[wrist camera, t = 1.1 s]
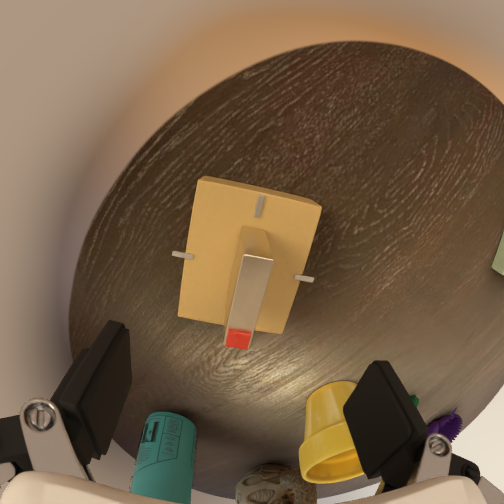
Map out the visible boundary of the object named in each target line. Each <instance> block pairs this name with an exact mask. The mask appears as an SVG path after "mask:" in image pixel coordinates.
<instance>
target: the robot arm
mask: <svg viewBox="0 0 504 504" xmlns="http://www.w3.org/2000/svg"><path fill="white" fill-rule="evenodd" d="M131 384H132V372H131V357H130V336H129V329H126V328H125V325H124V324H123V323H119V322H116V321H112V320H109V321H108V322H107V323H106V325H105V326H104V328H103V329H102V331H101V332H100V334H99V335H98V337H97V338H96V340H95V341H94V343H93V344H92V346H91V347H90V349H86V348H84V349H82V350H81V352H80V353H79V355H78V356H77V358H76V359H75V361H74V362H73V364H72V365H71V367H70V368H69V370H68V372H67V373H66V375H65V376H64V378H63V380H62V381H61V383H60V385H59V386H58V388H57V390H56V391H55V393H54V394H53V396H52V398H51V399H50V401H49V400H48V399H44V398H33V399H30V400H28V401H27V402H25V403H24V404H23V406H22V407H21V410H20V415H16V416H12V417H7V418H1V419H0V485H2V484H3V483H5V482H7V481H8V482H10V483H9V484H8V486H7V487H6V489H5V491H4V492H3V494H2V497H1V499H0V504H181V503H175V502H170V501H164V500H159V499H155V498H150V497H146V496H142V495H138V494H134V493H130V492H127V491H123V490H120V489H116V488H112V487H109V486H106V485H102V484H99V483H96V481H95V480H94V477H93V476H92V473H91V472H90V469H89V467H88V464H90V461H91V458H95V459H97V460H100V457H101V454H103V455H106V453H107V451H108V448H109V445H110V442H111V439H112V436H113V434H114V431H115V428H116V425H117V422H118V419H119V417H120V414H121V411H122V408H123V406H124V403H125V400H126V398H127V395H128V393H129V390H130V387H131ZM343 414H344V417H345V420H346V423H347V426H348V428H349V431H350V434H351V437H352V440H353V443H354V446H355V449H356V452H357V455H358V458H359V461H360V464H361V467H362V470H363V472H364V473H365V474H366V475H367V478H368V479H372V478H377V477H379V476H380V475H381V477H382V480H381V483H380V485H379V487H378V489H377V491H376V494H375V495H374V496H370V497H367V498H362V499H358V500H352V501H348V502H342V503H337V504H504V494H503V493H502V492H501V491H500V490H499V489H498V488H496V487H495V486H494V485H493V484H492V483H490V482H489V481H488V480H487V479H485V478H484V477H483V476H481V477H480V471H479V468H478V466H477V465H476V464H475V463H473V462H471V461H469V460H466V459H464V458H462V457H460V456H457V455H455V454H453V453H452V446H451V443H450V441H449V440H448V438H446V437H445V436H444V435H442V434H439V433H432V434H430V435H429V436H428V437H426V434H427V433H428V432H429V430H428V428H427V426H426V424H425V422H424V421H423V419H422V417H421V415H420V413H419V412H418V410H417V408H416V406H415V405H414V403H413V401H412V400H411V398H410V396H409V394H408V393H407V391H406V389H405V388H404V386H403V384H402V383H401V381H400V379H399V378H398V376H397V374H396V373H395V371H394V369H393V368H392V366H391V365H390V363H389V362H388V361H379V360H376V361H374V362H373V363H372V364H370V365H369V366H368V368H367V369H366V371H365V373H364V374H363V376H362V378H361V379H360V381H359V383H358V384H357V386H356V387H355V389H354V390H353V392H352V393H351V395H350V396H349V398H348V399H347V401H346V402H345V404H344V406H343ZM0 488H1V486H0Z"/></svg>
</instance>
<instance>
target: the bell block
mask: <svg viewBox="0 0 504 504" xmlns="http://www.w3.org/2000/svg"><path fill="white" fill-rule="evenodd" d="M491 268H492V269H494V270H495V271H497V272H498V273H500V274H501V275H504V231H503V235H502V238H501V241H500V244H499V247H498V250H497V253H496V256H495V258H494V261H493V264H492V266H491Z"/></svg>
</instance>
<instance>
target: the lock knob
mask: <svg viewBox="0 0 504 504" xmlns="http://www.w3.org/2000/svg"><path fill="white" fill-rule="evenodd" d="M273 264H274V258H273V254H272V251H271V248H270V244H269V241H268V238H267V235H266V231H265V230H262V229H258V228H253V227H248V226H242V229H241V233H240V238H239V242H238V247H237V251H236V256H235V260H234V265H233V269H232V274H231V279H230V283H229V288H228V293H227V297H226V306H225V318H224V331H223V345H224V346H227V347H234V348H240V349H249V347H250V344H251V341H252V337H253V334H254V331H255V327H256V324H257V320H258V317H259V313H260V310H261V306H262V303H263V299H264V296H265V292H266V289H267V285H268V282H269V278H270V275H271V271H272V267H273Z"/></svg>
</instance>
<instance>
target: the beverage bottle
mask: <svg viewBox="0 0 504 504" xmlns="http://www.w3.org/2000/svg"><path fill="white" fill-rule="evenodd" d="M144 426H145V428H144V427H143V428H144V432H142V434H141V438H142V440H141V439H140V441H141V444H140V442H139V444H140V448H139V446H138V448H139V450H138V451H139V452H138V451H137V452H138V457H137V456H136V458H137V459H135V460H136V464H135V470H134V475H133V479H132V484H131V491H130V493H134V494H138V495H142V496H146V497H150V498H155V499H159V500H164V501H170V502H175V503H181V504H190V501H191V488H192V485H193V484H192V480H193V472H194V471H193V469H194V468H195V467H194V466H195V465H194V462H195V461H196V460H195V459H194V457H195V449H197V447H196V441H197V440H196V435H197V433H198V432H197V430H196V427H195V425H194V424H193V423H192V422H191V421H190V420H189V419H187V418H185V417H183V416H181V415H178V414H175V413H170V412H155V413H152V414H150V415H149V417H148V418H147V420H146V424H145V423H144ZM142 435H143V436H142ZM197 437H198V436H197ZM194 460H195V461H194ZM194 474H195V473H194Z"/></svg>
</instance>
